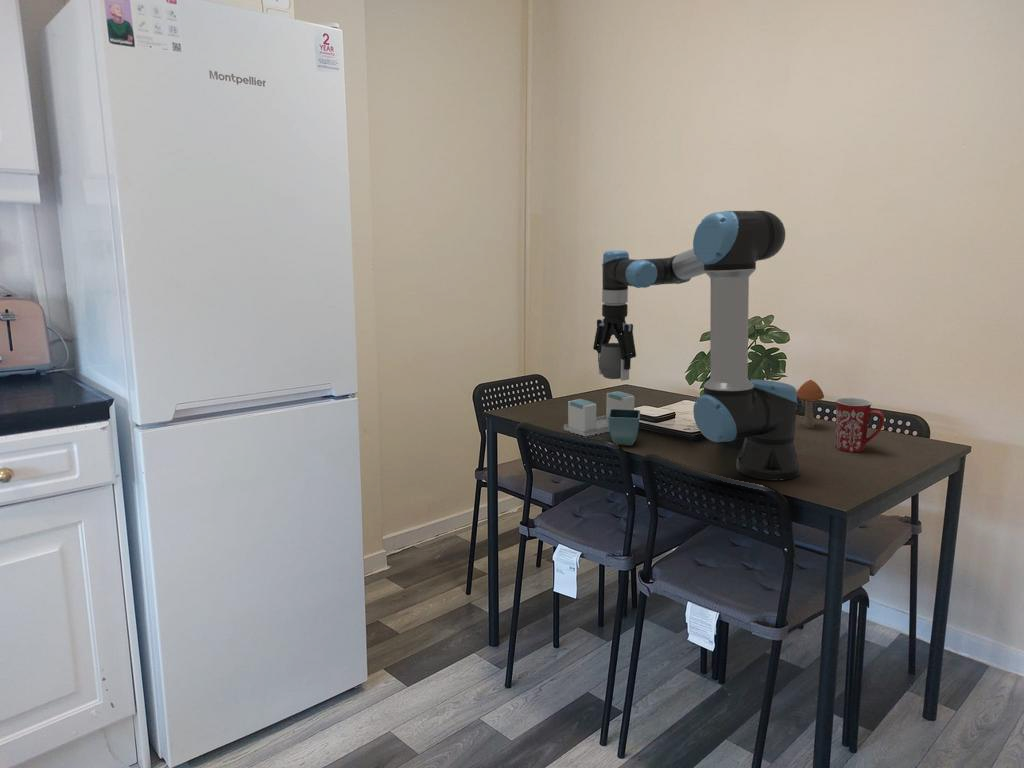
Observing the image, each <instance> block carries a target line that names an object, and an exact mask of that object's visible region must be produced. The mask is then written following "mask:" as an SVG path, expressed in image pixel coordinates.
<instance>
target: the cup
mask: <svg viewBox="0 0 1024 768" xmlns="http://www.w3.org/2000/svg"><path fill="white" fill-rule="evenodd" d="M626 355H627V354H626ZM621 358H623V356H622V353H621V350H620V347H619V343H618V342H609V343H606V344H603V345H602V348H601V353H600V359H599V363H598V370H599V369H600V371H601V373H602V374H601V375H602V376H603V378H605V379H609V380H621Z"/></svg>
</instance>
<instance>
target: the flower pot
mask: <svg viewBox="0 0 1024 768" xmlns="http://www.w3.org/2000/svg"><path fill="white" fill-rule="evenodd" d="M640 416H641V410H640V409H634V410H622V409H610V412H609V416H608V421H609V431H610V432H609V436H610V438H611V441H612V443H614V442H615V443H618V444H628V445H627V446H633V445H634V443H635V441H636V440H637V437H638V433H639V426H640V418H641V417H640Z"/></svg>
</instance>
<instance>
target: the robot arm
mask: <svg viewBox="0 0 1024 768" xmlns="http://www.w3.org/2000/svg"><path fill="white" fill-rule="evenodd" d="M692 240H693V241H692V248H691V249H688V250H686V251H683V252H681V253H678V254H675V255H672V256H670V257H660V258H643V259H634V258H633V259H631V258H630V257H629V256H630V255H629V252H628V251H627V250H607V251H604V252H603V254H602V255H603V256H602V264H601V266H602V293H601V294H602V295H601V296H602V297H601V302H602V303H603V304H602V305H601V307H602V308H601V317H603V318H600V319H597V320H596V331H595V336H594V342H593V351H596V353H597V362H598V364H599V359H600V353H601V348H602V345H603V344H606V343H610V341H611V338H612V336H614V337H615V339H616V341H617V343H619V347H620V350H621V353H622V356H623V358H621V379H620V381H621V382H623V381H627V380H630V370H631V361H632V360H631V359H634V358H636V357H637V351H636V346H635V340H634V324H633V323H626V318H627V317H628V313H629V312H628V310H629V309H628V304H627V303H628V301H629V298H628V295H629V287H635V288H636V289H637V288H638V289H640V288H643V289H647V288H650V287H651V286H660V285H674V284H675V285H679V284H683V283H684V284H685V283H688V282H690V281H691V279H692V278H695V277H697V276H698V277H699V276H702V275H705V274H706V275H707V276H708V277H709V279H710V316H709V317H710V318H709V319H710V321H709V322H710V323H709V324H710V337H709V338H710V341H709V343H710V347H709V348H710V352H709V353H710V356H709V357H710V358H709V360H710V361H709V363H710V364H709V366H710V367H709V368H710V369H709V371H710V373H709V374H710V378H709V379H708V380H707V381H706V382H705V383H704V384H703V394H702V395H701V396H699V397H698V398H697V399H696V400H695V402H694V403H693V410H692V412H693V419H694V422H695V425H696V426H697V429H698V430H699V431H700V433H701V434H702V436H704V438H706V439H707V440H709V441H711V442H715V443H723V442H732V441H735V440H739V439H741V440H742V439H744V441H743V444H742V446H741V449H740V450H739V454H738V455H737V457H736V466H735V467H736V470H737V471H738V472H739V473H740V474H742V475H744V476H746V477H750V478H754V479H757V478H760V479H759V480H763V479H777V480H776V481H781V480H780V479H788V480H791V479H790V478H792V479H794V477H795V478H797V477H798V476H799V474H800V462H799V457H798V454H797V451H796V446H795V432H796V419H797V405H798V397H797V391H798V390H797V389H796V387H795V386H794V385H791V384H789V383H785V382H781V381H776V380H769V379H768V380H766V379H749V378H748V374H749V371H748V368H749V367H748V366H749V365H748V364H749V363H748V360H749V359H748V358H749V357H748V356H749V299H750V298H749V297H750V296H749V295H750V294H749V292H750V291H749V288H750V287H749V286H750V285H749V284H750V282H749V281H750V279H749V278H750V277H751V275H752V274H753V273H754V272H756V270H757V262H758V261H764V260H767V259H771V258H772V257H774V256H775V255H777V254H778V253H779V251H781V249H782V247H783V246H784V244H785V240H786V229H785V225H784V222H782V220H781V219H780V218H779V217H778V216H777V215H776V214H774V213H772V212H770V211H765V210H723V211H717V212H716V211H715V212H712V213H710V214H707V215H706V216H704V218H702V219H701V222H700V223H699V224H698V225H697V227H696V229H695V232H694V235H693V239H692ZM626 354H627V355H626ZM598 375H602V373H601V371H600V369H599V368H598ZM796 476H797V477H796Z"/></svg>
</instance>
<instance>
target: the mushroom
mask: <svg viewBox="0 0 1024 768" xmlns="http://www.w3.org/2000/svg"><path fill="white" fill-rule="evenodd" d="M796 391H797V399H800V400H803V401H804V406H805V407H804V408H805V410H804V411H805V412H804V418H803V426H804V428H807V429H810V428H811V429H813V428H814V426H815V424H816V423H815V416H814V412H813V406H814V405H813V402H814V401H821V400H822V399H824V398H825V395H824V392H823V390H822V389H821V387H820V386H819V384H818V383H816V381H814V380H812V379H808V380H807V381H805V382H804V383H803V384H801V386H800V387H799V388H798V390H796Z"/></svg>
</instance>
